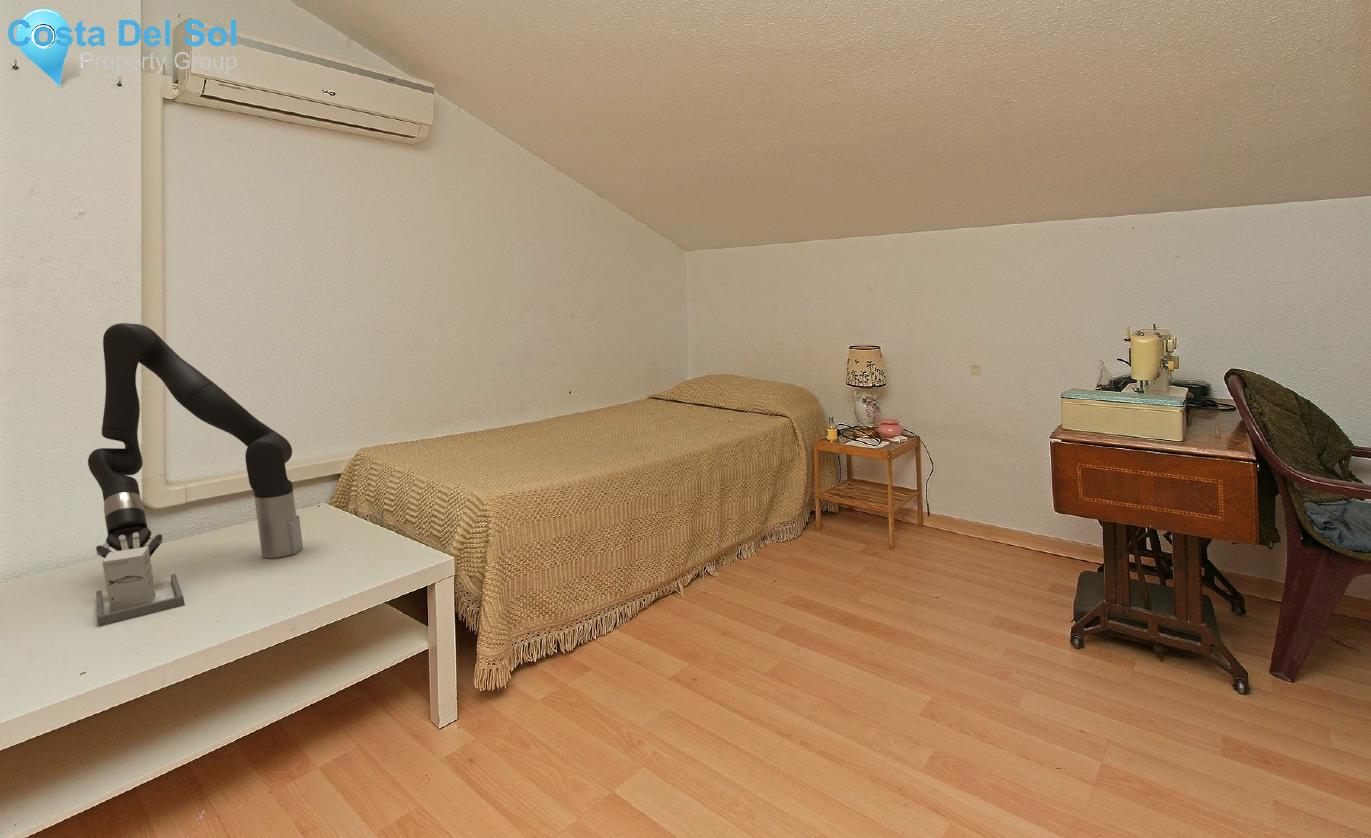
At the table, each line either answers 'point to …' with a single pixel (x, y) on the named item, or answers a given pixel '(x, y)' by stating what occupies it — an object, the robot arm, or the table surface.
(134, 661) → the table surface
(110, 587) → the supplement box
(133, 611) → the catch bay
